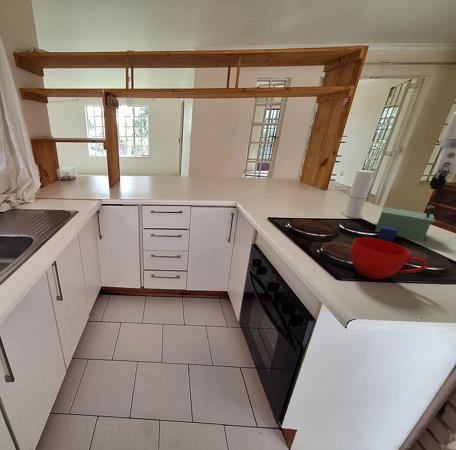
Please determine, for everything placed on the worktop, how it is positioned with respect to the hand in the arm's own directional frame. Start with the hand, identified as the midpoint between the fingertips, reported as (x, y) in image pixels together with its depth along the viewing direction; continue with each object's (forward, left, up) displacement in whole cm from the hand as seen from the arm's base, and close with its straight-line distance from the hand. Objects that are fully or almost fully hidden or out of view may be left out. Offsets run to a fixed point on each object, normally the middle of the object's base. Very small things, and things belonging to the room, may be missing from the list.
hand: (435, 187), depth 98 cm
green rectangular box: (+5, +2, -22) cm, 23 cm away
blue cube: (+1, +16, -22) cm, 27 cm away
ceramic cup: (-21, +53, -22) cm, 61 cm away
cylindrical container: (+30, -2, -22) cm, 37 cm away
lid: (+5, +2, -13) cm, 14 cm away
